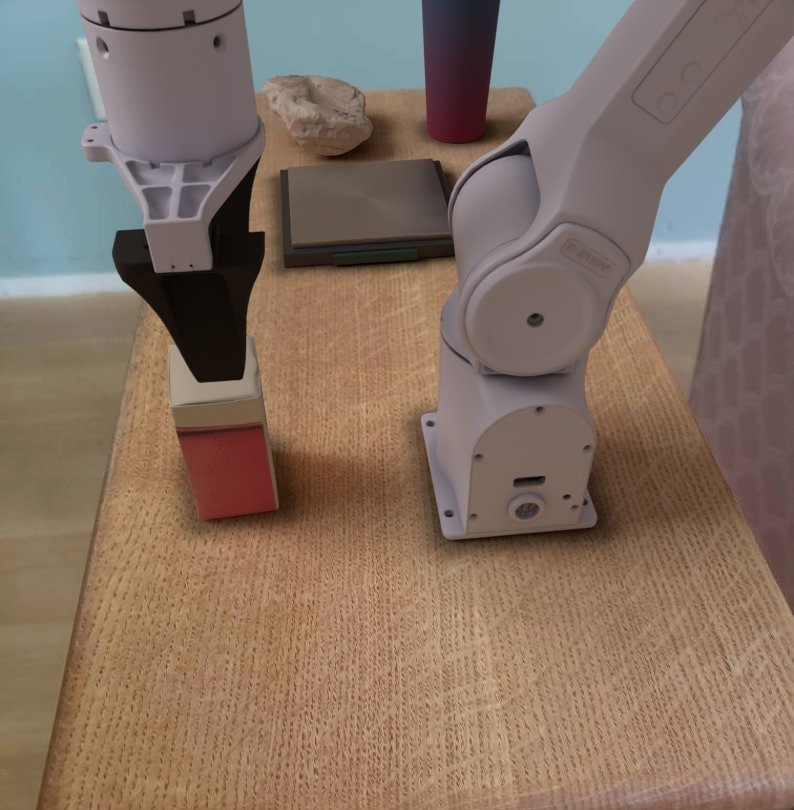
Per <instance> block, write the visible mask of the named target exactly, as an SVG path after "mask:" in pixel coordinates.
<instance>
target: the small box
mask: <svg viewBox="0 0 794 810" xmlns="http://www.w3.org/2000/svg"><path fill="white" fill-rule="evenodd" d="M167 355H168V356H167V386H168V388H167V389H168V390H167V391H168V403H169V404H168V406H169V409H170V413H171V417H172V421H173V425H174V429H175V433H176V436H177V439H178V444H179V447H180V451H181V452H180V453H181V455H182V459H183V464H184V466H185V470H186V474H187V478H188V481H189V485H190V489H191V492H192V496H193V500H194V504H195V508H196V512H197V516H198V518H199V520H202V521H206V520H213V519H222V518H229V517H236V516H237V517H238V516H244V515H251V514H252V515H253V514H257V513H258V514H259V513H264V512H270V511H276V510H277V511H278V509H279V507H280V503H279V494H278V486H277V485H278V484H277V478H276V470H275V465H274V459H273V452H272V445H271V438H270V431H269V424H268V419H267V418H268V417H267V413H266V405H265V400H264V399H265V398H264V394H263V393H264V392H263V385H262V379H261V372H260V366H259V361H258V355H257V347H256V339H255V336H254V334H247V341H246V364H245V371H244V376H243V379H241V380H236V381H222V382H207V383H199V382H197V381H196V379H195V378H194V376H193V375H192V373H191V371H190V370H189V368H188V366H187V365H186V363H185V361H184V359H183V357H182V355H181V354H180V352H179V350H178V348H177V346H176V344H175V343H171V344H169V345H168V353H167Z"/></svg>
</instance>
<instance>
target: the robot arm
mask: <svg viewBox="0 0 794 810" xmlns="http://www.w3.org/2000/svg"><path fill="white" fill-rule="evenodd" d="M75 1H76V4H77V8H78V11H79V15H80V20H81V23H82V27H83V31H84V35H85V39H86V43H87V47H88V49H89V53H90V57H91V61H92V65H93V66H92V67H93V70H94V73H95V77H96V81H97V85H98V89H99V93H100V97H101V100H102V101H101V102H102V104H103V109H104V113H105V117H106V120H107V122H97V123H91V124H89V125H87V127H86V128H84V131H83V133H82V137H81V139H80V144H81V148H82V151H83V152H82V153H83V154H84V158H85V160H87V161H89V162H90V163H93V162H94V163H103V162H104V163H105V162H107V163H111V164H112V165H114V166H115V168H116V170H117V172H118V173H119V175H120V177H121V179H122V180H123V182H124V183H125V185H126V187H127V189H128V191H129V192H130V194H131V195H132V197H133V199H134V201H135V202H136V204H137V206H138V207H139V210H140V211H141V212H142V215H143V222H142V225H143V228H135V229H134V228H133V229H119V230H118V229H117V230H116V232H115V236H114V239H113V240H114V241H113V244H112V248H111V258H112V260H113V264H114V267H115V270H116V271H117V274H118V276H119V277H120V280H121V281H122V282H123V283H125V285H127V286H128V287H129V288H131V289H132V290H133V291H134V292H135V293H136V294H138V295H139V297H141V298H142V299H143V301H145V302H146V303H147V305H148V306H149V307H150V308H151V310H153V311H154V313H155V314H156V315H157V317H158V318H159V319H160V321H161V322H162V324H163V326H165V328H166V330H167V332H168V333H169V335H170V337H171V339H172V340H173V342H174V344H176V346H177V348H178V350H179V352H180V354H181V355H182V357H183V359H184V361H185V363H186V365H187V366H188V368H189V370H190V371H191V373H192V375H193V376H194V378H195V379H196V381H197V382H199V383H207V382H222V381H236V380H241V379H243V376H244V371H245V364H246V341H247V335H248V333H247V331H248V328H247V323H248V319H247V318H248V308H249V305H250V303H249V302H250V299H251V295H252V291H253V288H254V285H255V283H256V281H257V280H258V277H259V275H260V272H261V269H262V266H263V264H264V259H265V254H266V231H264V230H259V231H250V210H251V200H252V193H253V187H254V183H255V178H256V175H257V170H258V168H259V164H260V161H261V158H262V155H263V153H264V151H265V149H266V145H267V144H266V143H267V139H266V127H265V123H264V121H263V119H262V118H261V116H260V115H259V113H258V107H257V100H256V93H255V84H254V77H253V70H252V62H251V61H252V60H251V54H250V52H251V51H250V45H249V38H248V30H247V24H246V15H245V8H244V0H75ZM793 37H794V0H633V1H632V3H630V5H629V7H628V8H627V9H626V11H625V12H624V14H623V15H622V16H621V18H620V19H619V20H618V21H617V23H616V25H615V26H614V27H613V29H612V30H611V32H609V34H608V36H607V37H606V39H605V40H604V41H603V43H602V44H601V45H600V47H599V48H598V49H597V51H596V53H594V55H593V57H592V58H591V59H590V60H589V62H588V63H587V64H586V66H585V68H584V69H583V70H582V72H581V73H580V75H579V76H578V78H576V80H575V81H574V83H573V84H572V86H571V87H570V88H569V90H567V91H566V92H564V93H562V94H561V95H558V96H557V97H555V98H552V99H550V100H548V101H546V102H544V103H541V104H540V105H537V106H536V107H534V108H532V110H530V111H529V113H528V114H527V115H526V117H525V118H524V120H523V121H522V122H521V123H520V125H519V126H518V127H517V129H516V130H515V132H514V133H513V134H512V135H511V136H510V137H508V138H507V140H506V141H504V142H503V143H502V144H500V145H499V146H498V147H496V148H493V149H492V150H490V151H489V152H487V153H485V154H483V155H482V156H480V157H478V158H477V159H476V160H475V161H473V162H472V163H471V164H469V166H468V167H467V168H466V169H465V170H464V171H463V172H462V173H461V175H460V176H459V178H458V180H457V181H456V183H455V185H454V187H453V189H452V191H451V193H450V195H451V197H450V201H449V207H448V221H449V229H450V232H451V235H452V237H453V240H454V248H455V256H454V258H455V267H456V276H457V277H456V278H457V282H456V285H455V286H454V288H453V289H452V291H451V292H450V293H449V295H448V297H447V299H445V302H444V303H443V305H442V308H441V311H440V318H439V319H440V320H439V321H440V323H439V351H438V352H439V353H438V386H437V411H435V412H433V411H432V412H426V413H424V414H422V416H421V418H420V424H421V430H422V435H423V441H424V446H425V451H426V456H427V460H428V468H429V471H430V477H431V481H432V482H431V483H432V486H433V492H434V496H435V497H434V498H435V503H436V507H437V512H438V517H439V523H440V528H441V533H442V535H443V537H444V538H445V539H447V540H452V541H453V540H465V539H477V538H489V537H499V536H500V537H501V536H510V535H511V536H512V535H521V534H533V533H545V532H556V531H557V532H558V531H568V530H579V529H589V528H590V529H591V528H592V527H595V526H596V524H597V521H598V515H597V512H596V509H595V506H594V503H593V500H592V498H591V495H590V492H589V490H588V489H589V488H588V484H589V479H590V475H591V469H592V465H593V461H594V455H595V452H596V448H597V430H596V426H595V423H594V420H593V417H592V415H591V412H590V408H589V405H588V401H587V395H586V385H585V382H586V374H587V373H586V372H587V367H588V362H589V358H590V352H591V350H592V349H594V347H595V346H596V345H597V343H598V342H599V341H600V339H601V338H602V336H603V335H604V333H605V331H606V329H607V327H608V326H609V322H610V318H611V316H612V312H613V308H614V305H615V302H616V300H617V298H618V296H619V294H620V292H621V290H622V289H623V288H624V286H625V285H626V284H627V283H628V281H629V280H630V279H631V277H632V276H633V275H634V274H635V273H636V272H637V271H638V270H639V269H640V268H641V266H642V265H643V264H644V262H645V259H646V257H647V254H648V251H649V248H650V243H651V239H652V235H653V231H654V228H655V223H656V220H657V215H658V211H659V207H660V203H661V200H662V195H663V192H664V190H665V186H666V184H667V183H668V181H669V180H670V179H672V177H673V176H674V175H675V173H676V172H677V171H678V170H679V169H680V168H681V166H682V165H683V164H684V163H685V162H686V160H687V159H688V158H689V157H690V156H691V155H692V153H693V152H694V151H695V150H696V149H697V148H698V147H699V146H700V145H701V143H702V142H703V141H704V140H705V139H706V137H708V135H709V134H710V133H711V131H713V129H714V128H715V127H716V126H717V125H718V124H719V122H721V120H722V119H723V118H724V117H725V116H726V115H727V113H728V112H729V111H730V110H731V109H732V108H733V106H734V105H735V104H736V103H737V102H738V101H739V99H740V98H741V97H742V96H743V95H744V94H745V93H746V92H747V90H748V89H749V88H750V87H751V86H752V85H753V83H754V82H755V81H756V80H757V79H758V78H759V76H761V74H762V73H763V72H764V71H765V69H766V68H767V67H768V66H769V65H770V64H771V62H773V61H774V59H775V58H776V57H777V56H778V55H779V54H780V52H781V51H782V50H783V49H784V48H785V46H786V45H787V44H788V43H789V42H790V41H791V40H792V38H793Z"/></svg>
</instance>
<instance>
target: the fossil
mask: <svg viewBox="0 0 794 810" xmlns="http://www.w3.org/2000/svg"><path fill="white" fill-rule="evenodd" d="M262 93H263V94H264V95H265V96H266V98H267V99H268V108H269V109H270V111H271V112H272V113H273V114H275V115H276V116H278V117H280V118H281V120H282V122H283V124H284V125H285V126H286V128H287V130H288V131H289V133H290V135H291V137H293V138H294V139H295V140H296V143H298V145H299V146H301V147H302V148H303V149H305V150H306V151H308V152H309V153H313V154H314V155H317V156H327V157H328V156H339V155H342V154H345V153H348V152H351V151H352V150H354V149H355V148H356V147H358V146H359V145H360V144H362V143H363V142H364V141H367V140H368V139H370V138H371V136H372V132H373V130H374V125H373V122H372V120H371V119H370V118H369V117H367V116H366V115H365V114H366V107H367V104H366V97H365V95H364V93H363V92H362V91H361V90H360V89H359V88H358V87H357V86H355V85H352V84H350V83H348V82H347V81H344V80H341V79H339V78H333V77H324V76H321V75H319V74H316V75H313V74H312V75H310V74H308V75H305V74H304V75H298V74H289V75H275V76H273V77H271V78H268V79H267V80H266V81H265V82H264V83H263V85H262Z"/></svg>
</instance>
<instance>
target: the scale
mask: <svg viewBox="0 0 794 810" xmlns="http://www.w3.org/2000/svg"><path fill="white" fill-rule="evenodd" d="M279 189H280V217H281V218H280V219H281V240H282V241H281V243H282V259H283V267H284V268H293V267H306V266H321V265H333V266H341V265H357V264H372V263H384V262H385V263H387V262H400V261H401V262H402V261H417V260H418V259H426V258H441V257H455V248H454V240H453V237H452V235H451V232H450V229H449V221H448V207H449V201H450V197H451V193H450V189H449V186H448V183H447V179H446V176H445V173H444V170H443V167H442V163H441V160H439V159H438V160H434V159H433V158H418V159H416V158H415V159H402V160H401V159H400V160H384V161H383V160H381V161H367V162H366V161H365V162H350V163H348V162H347V163H334V164H333V163H332V164H319V165H318V164H317V165H301V166H299V165H298V166H288V167H287V169H280V170H279Z"/></svg>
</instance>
